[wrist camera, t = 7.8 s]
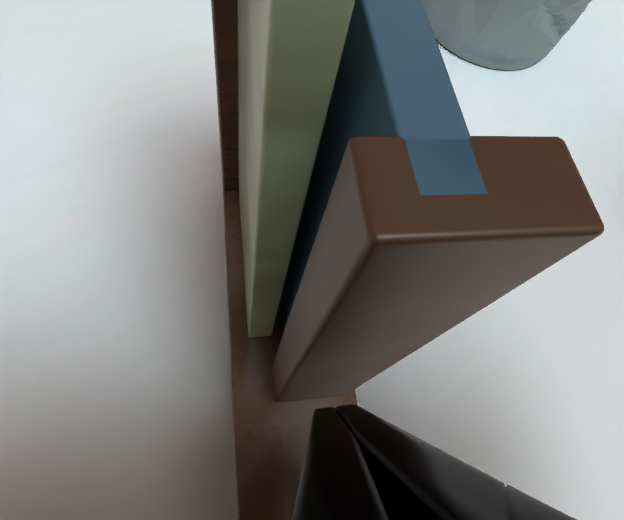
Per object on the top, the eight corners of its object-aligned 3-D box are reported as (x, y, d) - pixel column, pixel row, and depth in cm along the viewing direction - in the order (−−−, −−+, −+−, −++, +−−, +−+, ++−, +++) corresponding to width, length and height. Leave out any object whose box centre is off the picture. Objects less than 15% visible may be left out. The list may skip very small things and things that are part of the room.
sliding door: (347, 394, 14) (611, 232, 4) (275, 402, 13) (370, 242, 4) (321, 224, 16) (442, -126, 7) (259, 226, 16) (291, -146, 6)
